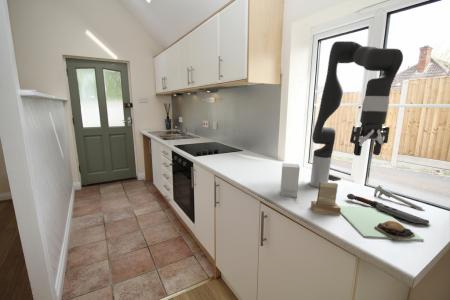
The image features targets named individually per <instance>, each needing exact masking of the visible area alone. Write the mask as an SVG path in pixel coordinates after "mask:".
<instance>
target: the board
mask: <svg viewBox="0 0 450 300" xmlns="http://www.w3.org/2000/svg"><path fill="white" fill-rule="evenodd" d="M338 187H339V185H338V182H328V183H325V182H319V188H318V190H317V198H316V201H317V205H327V206H335V203H336V201H337V200H336V199H337V195H338V193H337V192H338Z"/></svg>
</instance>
